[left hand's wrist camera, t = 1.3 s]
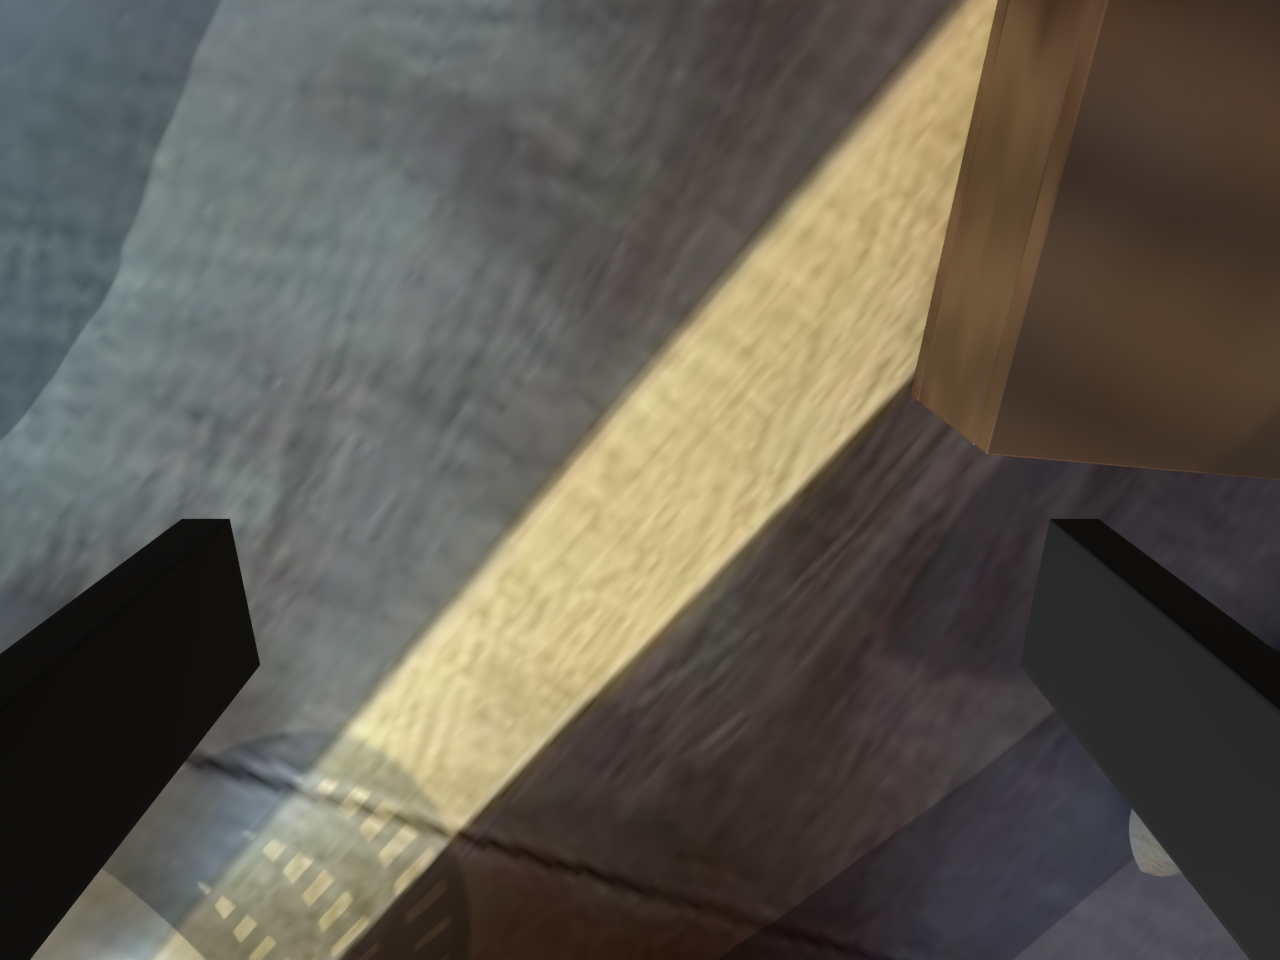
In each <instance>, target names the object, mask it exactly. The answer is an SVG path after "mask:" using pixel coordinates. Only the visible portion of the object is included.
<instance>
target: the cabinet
mask: <svg viewBox="0 0 1280 960" xmlns="http://www.w3.org/2000/svg"><path fill="white" fill-rule="evenodd" d="M911 396H913V397H914V398H915V399H917V400H918V401H919V402H920V403H922V404H923V405H924V406H925V407H927V408H928V409H929V410H931V411H932V412H933V413H934V414H936V415H937V416H938V417H940V418H941V419H942V420H943V421H945V422H946V423H947V424H948V425H950V426H951V427H952V428H954V429H955V430H956V431H957V432H959V433H960V434H961V435H963V436H964V437H965V438H966V439H968V440H969V441H970V442H971V443H973V444H974V445H976V446H977V447H978V448H980V449H981V450H982V451H983V452H985V453H986V454H991V455H1002V456H1013V457H1025V458H1036V459H1047V460H1058V461H1070V462H1081V463H1092V464H1103V465H1115V466H1126V467H1137V468H1148V469H1160V470H1171V471H1182V472H1193V473H1205V474H1216V475H1227V476H1239V477H1250V478H1261V479H1272V480H1280V0H998V3H997V7H996V12H995V16H994V21H993V25H992V30H991V34H990V39H989V43H988V48H987V52H986V57H985V61H984V66H983V70H982V75H981V79H980V84H979V88H978V93H977V97H976V102H975V106H974V111H973V115H972V120H971V124H970V129H969V133H968V138H967V142H966V147H965V151H964V156H963V160H962V165H961V169H960V174H959V178H958V183H957V187H956V192H955V196H954V201H953V205H952V210H951V214H950V219H949V223H948V228H947V232H946V237H945V241H944V246H943V250H942V255H941V259H940V264H939V268H938V273H937V277H936V282H935V286H934V291H933V295H932V300H931V304H930V309H929V313H928V318H927V322H926V327H925V331H924V336H923V340H922V345H921V349H920V354H919V358H918V363H917V367H916V372H915V376H914V381H913V385H912V390H911Z"/></svg>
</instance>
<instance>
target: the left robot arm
mask: <svg viewBox="0 0 1280 960" xmlns="http://www.w3.org/2000/svg"><path fill="white" fill-rule="evenodd" d="M259 666H260V662H259V657H258V653H257V648H256V643H255V638H254V633H253V629H252V624H251V619H250V614H249V609H248V604H247V600H246V595H245V590H244V585H243V580H242V576H241V571H240V566H239V561H238V556H237V552H236V547H235V542H234V537H233V532H232V528H231V523H230V519H181V520H180V521H178V522H177V523H176V524H174V525H173V526H172V527H170V528H169V529H168V530H166V531H165V532H164V533H162V534H161V535H160V536H158V537H157V538H156V539H154V540H153V541H152V542H150V543H149V544H148V545H146V546H145V547H143V548H142V549H141V550H139V551H138V552H137V553H135V554H134V555H133V556H131V557H130V558H129V559H127V560H126V561H125V562H123V563H122V564H121V565H119V566H118V567H117V568H115V569H114V570H113V571H111V572H110V573H109V574H107V575H106V576H104V577H103V578H102V579H100V580H99V581H98V582H96V583H95V584H94V585H92V586H91V587H90V588H88V589H87V590H86V591H84V592H83V593H82V594H80V595H79V596H78V597H76V598H75V599H74V600H72V601H71V602H70V603H68V604H67V605H66V606H64V607H63V608H61V609H60V610H59V611H57V612H56V613H55V614H53V615H52V616H51V617H49V618H48V619H47V620H45V621H44V622H43V623H41V624H40V625H39V626H37V627H36V628H35V629H33V630H32V631H31V632H29V633H28V634H27V635H25V636H24V637H23V638H21V639H20V640H18V641H17V642H16V643H14V644H13V645H12V646H10V647H9V648H8V649H6V650H5V651H4V652H2V653H1V654H0V960H30V959H31V958H32V957H33V955H34V954H35V953H36V951H37V950H38V949H39V948H40V946H41V945H42V944H43V942H44V941H45V940H46V939H47V937H48V936H49V935H50V933H51V932H52V931H53V930H54V928H55V927H56V926H57V925H58V923H59V922H60V921H61V919H62V918H63V917H64V916H65V914H66V913H67V912H68V910H69V909H70V908H71V907H72V905H73V904H74V903H75V901H76V900H77V899H78V898H79V896H80V895H81V894H82V892H83V891H84V890H85V889H86V887H87V886H88V885H89V883H90V882H91V881H92V880H93V878H94V877H95V876H96V875H97V873H98V872H99V871H100V869H101V868H102V867H103V866H104V864H105V863H106V862H107V860H108V859H109V858H110V857H111V855H112V854H113V853H114V851H115V850H116V849H117V848H118V846H119V845H120V844H121V842H122V841H123V840H124V839H125V837H126V836H127V835H128V834H129V832H130V831H131V830H132V828H133V827H134V826H135V825H136V823H137V822H138V821H139V819H140V818H141V817H142V816H143V814H144V813H145V812H146V810H147V809H148V808H149V807H150V805H151V804H152V803H153V801H154V800H155V799H156V798H157V796H158V795H159V794H160V793H161V791H162V790H163V789H164V787H165V786H166V785H167V784H168V782H169V781H170V780H171V778H172V777H173V776H174V775H175V773H176V772H177V771H178V769H179V768H180V767H181V766H182V764H183V763H184V762H185V760H186V759H187V758H188V757H189V755H190V754H191V753H192V751H193V750H194V749H195V748H196V746H197V745H198V744H199V743H200V741H201V740H202V739H203V737H204V736H205V735H206V734H207V732H208V731H209V730H210V728H211V727H212V726H213V725H214V723H215V722H216V721H217V719H218V718H219V717H220V716H221V714H222V713H223V712H224V710H225V709H226V708H227V707H228V705H229V704H230V703H231V702H232V700H233V699H234V698H235V696H236V695H237V694H238V693H239V691H240V690H241V689H242V687H243V686H244V685H245V684H246V682H247V681H248V680H249V678H250V677H251V676H252V675H253V673H254V672H255V671H256V669H257V668H258V667H259ZM1020 666H1021V667H1022V668H1023V669H1024V671H1025V672H1026V673H1027V675H1028V676H1029V677H1030V678H1031V680H1032V681H1033V682H1034V684H1035V685H1036V686H1037V687H1038V689H1039V690H1040V691H1041V693H1042V694H1043V695H1044V696H1045V698H1046V699H1047V700H1048V702H1049V703H1050V704H1051V705H1052V707H1053V708H1054V709H1055V710H1056V712H1057V713H1058V714H1059V716H1060V717H1061V718H1062V719H1063V721H1064V722H1065V723H1066V725H1067V726H1068V727H1069V728H1070V730H1071V731H1072V732H1073V734H1074V735H1075V736H1076V737H1077V739H1078V740H1079V741H1080V743H1081V744H1082V745H1083V746H1084V748H1085V749H1086V750H1087V751H1088V753H1089V754H1090V755H1091V757H1092V758H1093V759H1094V760H1095V762H1096V763H1097V764H1098V766H1099V767H1100V768H1101V769H1102V771H1103V772H1104V773H1105V775H1106V776H1107V777H1108V778H1109V780H1110V781H1111V782H1112V784H1113V785H1114V786H1115V787H1116V789H1117V790H1118V791H1119V793H1120V794H1121V795H1122V796H1123V798H1124V799H1125V800H1126V801H1127V803H1128V804H1129V805H1130V807H1131V808H1132V809H1133V810H1134V812H1135V813H1136V814H1137V816H1138V817H1139V818H1140V819H1141V821H1142V822H1143V823H1144V825H1145V826H1146V827H1147V828H1148V830H1149V831H1150V832H1151V834H1152V835H1153V836H1154V837H1155V839H1156V840H1157V841H1158V842H1159V844H1160V845H1161V846H1162V848H1163V849H1164V850H1165V851H1166V853H1167V854H1168V855H1169V857H1170V858H1171V859H1172V860H1173V862H1174V863H1175V864H1176V866H1177V867H1178V868H1179V869H1180V871H1181V872H1182V873H1183V875H1184V876H1185V877H1186V878H1187V880H1188V881H1189V882H1190V883H1191V885H1192V886H1193V887H1194V889H1195V890H1196V891H1197V892H1198V894H1199V895H1200V896H1201V898H1202V899H1203V900H1204V901H1205V903H1206V904H1207V905H1208V907H1209V908H1210V909H1211V910H1212V912H1213V913H1214V914H1215V916H1216V917H1217V918H1218V919H1219V921H1220V922H1221V923H1222V925H1223V926H1224V927H1225V928H1226V930H1227V931H1228V932H1229V933H1230V935H1231V936H1232V937H1233V939H1234V940H1235V941H1236V942H1237V944H1238V945H1239V946H1240V948H1241V949H1242V950H1243V951H1244V953H1245V954H1246V955H1247V957H1248V958H1249V959H1250V960H1280V654H1279V653H1278V652H1276V651H1275V650H1274V649H1272V648H1271V647H1270V646H1268V645H1267V644H1266V643H1264V642H1263V641H1262V640H1260V639H1259V638H1257V637H1256V636H1255V635H1253V634H1252V633H1251V632H1249V631H1248V630H1247V629H1245V628H1244V627H1243V626H1241V625H1240V624H1239V623H1237V622H1236V621H1235V620H1233V619H1232V618H1231V617H1229V616H1228V615H1227V614H1225V613H1224V612H1223V611H1221V610H1220V609H1219V608H1217V607H1216V606H1214V605H1213V604H1212V603H1210V602H1209V601H1208V600H1206V599H1205V598H1204V597H1202V596H1201V595H1200V594H1198V593H1197V592H1196V591H1194V590H1193V589H1192V588H1190V587H1189V586H1188V585H1186V584H1185V583H1184V582H1182V581H1181V580H1180V579H1178V578H1177V577H1176V576H1174V575H1173V574H1171V573H1170V572H1169V571H1167V570H1166V569H1165V568H1163V567H1162V566H1161V565H1159V564H1158V563H1157V562H1155V561H1154V560H1153V559H1151V558H1150V557H1149V556H1147V555H1146V554H1145V553H1143V552H1142V551H1141V550H1139V549H1138V548H1137V547H1135V546H1134V545H1132V544H1131V543H1130V542H1128V541H1127V540H1126V539H1124V538H1123V537H1122V536H1120V535H1119V534H1118V533H1116V532H1115V531H1114V530H1112V529H1111V528H1110V527H1108V526H1107V525H1106V524H1104V523H1103V522H1102V521H1100V520H1099V519H1050V523H1049V528H1048V532H1047V537H1046V542H1045V547H1044V552H1043V556H1042V561H1041V566H1040V571H1039V576H1038V580H1037V585H1036V590H1035V595H1034V600H1033V604H1032V609H1031V614H1030V619H1029V624H1028V629H1027V633H1026V638H1025V643H1024V648H1023V653H1022V657H1021V662H1020Z"/></svg>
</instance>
